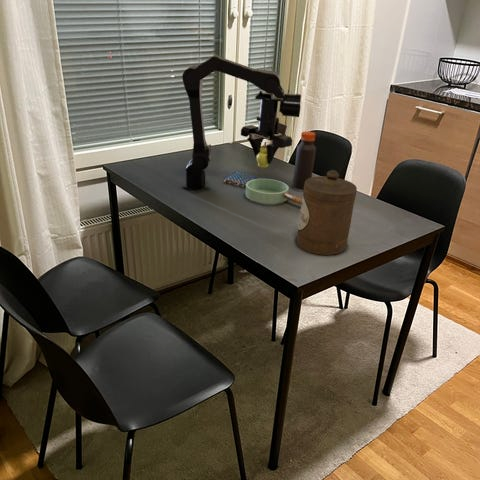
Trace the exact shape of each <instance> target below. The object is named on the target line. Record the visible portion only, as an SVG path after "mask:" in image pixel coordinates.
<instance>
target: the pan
mask: <svg viewBox="0 0 480 480" xmlns="http://www.w3.org/2000/svg"><path fill="white" fill-rule="evenodd" d="M289 189H290V188H289V185H288V184H286V183H285V182H284V181H280V180H279V179H278V180H277V179H274V178H273V179H272V178H258V179H254V180H250V181H249V182H247V184H246V186H245V193H244V195H245V198H247V199H249V200H250V201H252V202H255V203H259V204H265V205H274V204H275V205H276V204H277V205H278V204H282V203H285V202H286V201H288V199H285V198H284V197H283V194H284V193H289Z"/></svg>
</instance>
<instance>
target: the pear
mask: <svg viewBox="0 0 480 480" xmlns="http://www.w3.org/2000/svg"><path fill="white" fill-rule="evenodd" d="M267 145H268V144H267V142H266V141H264V143H263V145H261V148H260V152H259V153H258V155H257V160H256V163H257V166H258V167H260V168H268V167H269V164H268V162H267Z"/></svg>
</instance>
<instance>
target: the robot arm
mask: <svg viewBox="0 0 480 480" xmlns="http://www.w3.org/2000/svg"><path fill="white" fill-rule="evenodd" d="M214 72H219V73H223V74H225V75H228V76H231V77H234V78H237V79H239V80H243V81H245V82H248V83H250V84H252V85H254V86H255V87H257V88H258V89H259V92H258V93H257V94H255V96H254V99H255V100H260V105H259V115H258V116H256V121H258V126H257V125H253V124H249V125H244V126H242V127H241V129H240V136H241V137H245V138H246V140H247V141H248V142H249V144H250V146H251V148H252V151H253V154H254V157H255V159H256V161H257V155H258V153H259V152H260V148H261V146H262V143H263V142H264V140H267V141H270V143H269V144H266V145H267V162H268V165H270V164H271V163H272V161H273V159H274V157H275V155H276V153H277V152H278V150H279V149H283V148H288V147H292V146H293V138H292V136H289V135H287V134H286V130H287V127H288V126H287V125H286V124H283V123H282V122H280V118H279V117H277V116H278V112H279V113H280V114H281V116H283V117H291V118H300V113H301V101H302V100H301V99H302V94H301V93H295V94H293V93H285V90H284V89H283V87H282V85H281V76H280V75H279V73H278V72H277V71H274V70H269V69H259V68H253V67H251V66H248V65H244V64H241V63H238V62H236V61H233V60H230V59H227V58H224V57H222V56H220V55H218V54H213V55H212V56H210V58H209V59H206V60H205V61H203V62H202V63H200V64H198V65H190V66H188V67H187V68H186V69H185V70H184V71H183V72H182V74H181V79H182V84H183V87H184V91H185V94H186V95H187V98H188V104H189V112H190V120H191V122H190V123H191V131H192V140H193V145H192V153H191V160H189V161H188V163H187V165H186V168H185V171H186V172H185V176H186V177H185V185H183V189H186V190H188V191H190V192H192V191H193V192H198V191H202V190H204V189H208V186H206V169H207V168H208V167H209V164H210V162H211V160H212V157H213V154H212V144H208V143H207V141H206V134H205V132H206V131H205V123H204V112H203V103H202V91H203V83H204V78H206V77H208V76H209V75H212V73H214ZM278 106H279V109H278Z"/></svg>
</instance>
